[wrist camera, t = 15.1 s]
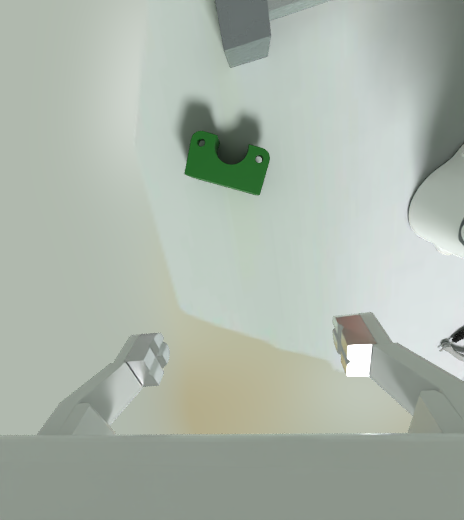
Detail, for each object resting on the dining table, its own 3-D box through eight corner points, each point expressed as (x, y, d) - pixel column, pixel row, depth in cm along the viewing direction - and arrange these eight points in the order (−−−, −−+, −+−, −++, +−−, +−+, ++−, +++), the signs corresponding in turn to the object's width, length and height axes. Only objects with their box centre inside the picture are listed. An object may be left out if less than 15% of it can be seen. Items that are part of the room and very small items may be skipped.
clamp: (254, 158, 39) (282, 155, 31) (244, 192, 41) (269, 197, 33) (187, 133, 34) (200, 122, 26) (179, 173, 36) (190, 174, 28)
